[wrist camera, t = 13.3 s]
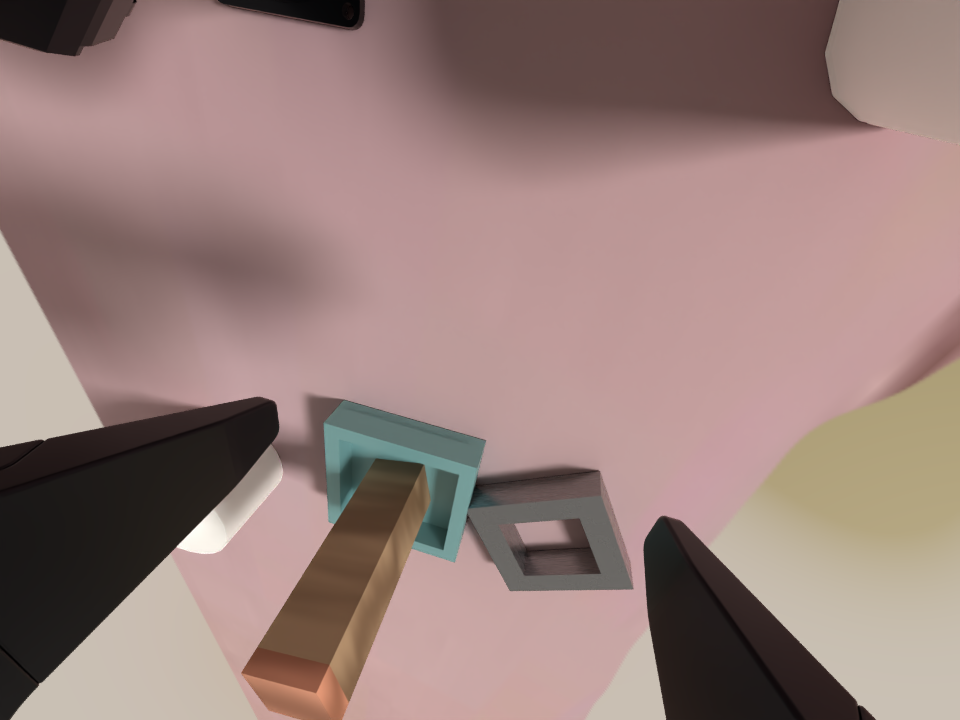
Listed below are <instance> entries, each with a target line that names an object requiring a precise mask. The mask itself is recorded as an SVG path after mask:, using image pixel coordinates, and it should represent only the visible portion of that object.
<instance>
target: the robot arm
mask: <svg viewBox="0 0 960 720" xmlns="http://www.w3.org/2000/svg"><path fill="white" fill-rule="evenodd" d="M218 1H219V2H221V3H223V4H225V5H228V6H231V7H235V8H241V9H246V10H251V11H257V12H262V13H267V14H272V15H278V16H283V17H288V18H294V19H299V20H304V21H310V22H315V23H320V24H325V25H331V26H336V27H341V28H347V29H352V30H355V29H358V28H360V27H361V26H362V24H363V22H364V15H365V0H218ZM136 2H137V1H136V0H0V40H3V41H7V42H10V43H13V44H17V45H20V46H23V47H26V48H30V49H33V50H37V51H41V52H46V53H54V54H62V55H69V56H78V55H80V53H81V51H82V49H83V47H84V46H93V45H96V44H99V43H102V42H105V41H108V40H111V39H114V38H115V36H116V34H117V32H118V30H119V28H120V26H121V24H122V22H123V20H124V18H125V17H127V16H129V15H130V13H131V12H132V10H133V8H134V6H135V4H136ZM349 6H352V7H353V9H354V15H353V17H352V18H351V19H349V18H348V16H347V9H348V8H349ZM278 432H279V420H278V412H277V405H276V403H275V402H274V401H273V400H269V399H266V398H263V397H253V398H248V399H243V400H238V401H233V402H228V403H223V404H218V405H213V406H208V407H203V408H198V409H193V410H188V411H183V412H178V413H173V414H169V415H164V416H159V417H154V418H149V419H144V420H139V421H134V422H129V423H124V424H119V425H114V426H109V427H104V428H99V429H94V430H89V431H84V432H79V433H74V434H69V435H64V436H59V437H54V438H49V439H47V440H45V441H44V440H35V441H31V442H25V443H21V444H15V445H10V446H6V447H0V720H10V719H11V718H12V716H13V715H14V714H15V712H16V711H17V709H18V708H19V707H20V706H21V705H22V703H23V702H24V701H25V700H26V699H27V697H29V696H30V695H31V693H32V692H33V691H34V690H35V689H36V688H37V687H38V686H39V683H42V682H43V681H44V680H45V679H46V678H47V677H48V676H49V675H50V674H51V673H52V672H53V671H54V670H55V669H56V668H57V667H58V666H59V665H60V664H61V663H62V662H63V661H64V660H65V659H66V658H67V657H68V656H69V655H70V654H71V653H72V652H73V651H74V650H75V649H76V648H77V647H78V646H79V645H80V644H81V643H82V642H83V641H84V640H85V639H86V638H87V637H88V636H89V635H90V634H91V633H92V632H93V630H95V628H97V627H98V626H99V625H100V624H101V622H103V620H105V618H106V617H108V615H109V614H110V613H111V612H112V611H113V610H114V609H115V608H116V607H117V606H118V605H119V604H120V603H121V602H122V601H123V600H124V599H125V598H126V597H127V596H128V595H129V594H130V593H131V592H132V591H133V590H134V589H135V588H136V587H137V586H138V585H139V584H140V583H141V582H142V581H143V580H144V579H145V578H146V577H147V576H148V575H149V574H150V573H151V572H152V571H153V570H154V569H155V568H156V567H157V566H158V565H159V564H160V563H161V562H162V561H163V560H164V559H165V558H166V557H167V556H168V555H169V554H170V553H171V552H172V551H173V550H174V549H175V548H176V547H177V546H178V545H179V544H180V543H181V542H182V541H183V540H184V539H185V538H186V537H187V536H188V535H189V534H190V533H191V532H192V531H193V530H194V529H195V528H196V527H197V526H198V525H199V524H200V523H201V522H202V521H203V520H204V519H205V518H206V517H207V516H208V514H209V513H210V512H211V511H212V510H213V509H214V508H215V507H216V506H217V505H218V504H219V503H220V502H221V501H222V500H223V499H224V498H225V497H226V496H227V495H228V494H229V493H230V492H231V491H232V490H233V489H234V488H235V487H236V486H237V485H238V484H239V482H240V481H241V480H242V479H243V478H244V477H245V475H246V474H247V473H248V472H249V470H250V469H251V468H252V467H253V465H254V464H255V463H256V462H257V461H258V459H259V458H260V457H261V456H262V454H263V453H264V452H265V451H266V449H267V448H268V447H269V446H270V444H271V443H272V442H273V441H274V439H275V438H276V436H277V434H278ZM644 566H645V581H646V597H647V610H648V619H649V625H650V631H651V637H652V642H653V648H654V653H655V659H656V665H657V670H658V676H659V681H660V687H661V693H662V698H663V704H664V709H665V715H666V720H876V719H875V718H874V717H873V716H872V715H871V714H870V713H869V712H868V711H867V710H866V709H865V708H864V707H863V706H860V705H859V706H858V704H857V701H856V700H855V699H854V698H853V697H852V696H851V695H850V694H849V692H848V691H847V690H846V689H844V687H843V686H841V684H840V683H839V682H838V681H837V680H836V679H835V678H834V677H833V676H832V675H831V674H830V673H829V672H828V671H827V670H826V669H825V668H824V667H823V666H822V665H821V664H820V663H819V662H818V661H817V660H816V659H815V658H814V657H813V656H812V654H810V652H809V651H808V650H807V649H806V648H805V647H804V646H803V645H802V644H801V643H800V642H799V641H798V640H797V639H796V638H795V637H794V636H793V635H792V634H791V633H790V632H789V631H788V630H787V629H786V628H785V627H784V626H783V625H782V624H781V623H780V622H779V621H778V620H777V619H776V618H775V616H774V615H773V614H772V613H771V612H770V611H769V610H768V609H767V608H766V607H765V606H764V605H763V604H762V603H761V602H760V601H759V600H758V599H757V598H756V597H755V596H754V595H753V594H752V593H751V592H750V591H749V590H748V589H747V588H746V587H745V586H744V585H743V584H742V583H741V582H740V580H739V579H738V578H736V577H735V575H734V574H733V573H732V572H731V571H730V570H729V569H728V568H727V567H726V566H725V565H724V564H723V563H722V562H721V561H720V560H719V559H718V558H717V557H716V556H715V555H714V554H713V553H712V552H711V551H710V550H709V549H708V548H707V547H706V546H705V545H704V544H703V542H702V541H701V540H700V539H699V538H698V537H697V536H696V535H695V534H694V533H693V532H692V531H691V530H690V529H689V528H688V527H687V526H686V525H685V524H684V523H683V522H682V521H680V520H677V519H674V518H671V517H667V516H661V517H660V518H659V519H658V520H657V522H656V523H655V525H654V526H653V528H652V529H651V531H650V532H649V534H648V535H647V537H646V539H645V542H644Z"/></svg>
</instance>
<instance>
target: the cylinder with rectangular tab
mask: <svg viewBox="0 0 960 720" xmlns="http://www.w3.org/2000/svg"><path fill="white" fill-rule="evenodd" d="M282 474H283V470H282V463H281V460H280V458H279V456H278V454H277V451H276V450H275V449H274V447H273V446H272V445H271V444H270V446H269V447H268V448H267V449H266V451H265V452H264V453H263V454H262V456H261V457H260V458H259V459H258V461H257V462H256V463H255V464H254V465H253V467H252V468H251V469H250V470H249V472H248V473H247V474H246V475H245V477H244V478H243V479H242V480H241V481H240V482H239V484H238V485H237V486H236V487H235V488H234V489H233V490H232V491H231V492H230V493H229V494H228V495H227V496H226V497H225V498H224V499H223V500H222V501H221V502H220V503H219V504H218V505H217V506H216V507H215V508H214V509H213V510H212V511H211V512H210V513H209V514H208V516H207V517H206V518H205V519H204V520H203V521H202V522H201V523H200V524H199V525H198V526H197V527H196V528H195V529H194V530H193V531H192V532H191V533H190V534H189V535H188V536H187V537H186V538H185V539H184V540H183V541H182V542H181V543H180V544H179V545H178V546H177V547H178V548H181V549H183V550H186V551H189V552H195V553H200V554H212V553H216V552H218V551H221V550H222V549H223V548H224V547H225V546H226V544H227V543H228V542H229V541H230V540H231V539H232V537H233V536H234V535H235V534H236V533H237V532H238V531H239V529H240V528H241V527H242V526H243V525H244V524H245V522H246V521H247V520H248V519H249V518H250V517H251V515H252V514H253V513H254V512H255V511H256V510H257V508H258V507H259V506H260V505H261V504H262V503H263V501H264V500H265V499H266V498H267V497H268V496H269V494H270V493H271V492H272V491H273V490H274V489H275V488H276V486H277V485H278V484H279V483H280V481H281V479H282Z"/></svg>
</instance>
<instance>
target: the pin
mask: <svg viewBox="0 0 960 720" xmlns="http://www.w3.org/2000/svg"><path fill="white" fill-rule="evenodd" d="M430 501H431V499H430V493H429V487H428V482H427V476H426V471H425V465H424V464H421V463H413V462H404V461H395V460H387V459H378V458H376V459H375V461H374V462H373V464H372V465H371V467H370V469H369V470H368V472H367V473H366V475H365V477H364V478H363V480H362V481H361V483H360V485H359V486H358V488H357V489H356V491H355V492H354V494H353V496H352V497H351V499H350V500H349V502H348V504H347V505H346V507H345V508H344V510H343V512H342V513H341V515H340V516H339V518H338V520H337V521H336V523H335V524H334V526H333V528H332V529H331V531H330V532H329V534H328V536H327V537H326V539H325V540H324V542H323V543H322V545H321V547H320V548H319V550H318V551H317V553H316V555H315V556H314V558H313V559H312V561H311V563H310V564H309V566H308V567H307V569H306V571H305V572H304V574H303V575H302V577H301V579H300V580H299V582H298V583H297V585H296V587H295V588H294V590H293V591H292V593H291V594H290V596H289V598H288V599H287V601H286V602H285V604H284V606H283V607H282V609H281V610H280V612H279V614H278V615H277V617H276V618H275V620H274V622H273V623H272V625H271V626H270V628H269V630H268V631H267V633H266V634H265V636H264V637H263V639H262V641H261V642H260V644H259V645H258V647H257V649H256V650H255V652H254V653H253V655H252V657H251V658H250V660H249V661H248V663H247V665H246V666H245V668H244V669H243V671H242V673H241V674H242V675H243V676H244V678H245V679H246V681H247V682H248V683H249V685H250V686H251V687H252V689H253V690H254V691H255V693H256V694H257V695H258V697H259V698H260V699H261V701H262V702H263V703H264V705H265V706H266V707H267V709H268V710H269V711H273V712H276V713H280V714H283V715H286V716H290V717H293V718H297V719H300V720H342V718H343V716H344V713H345V711H346V708H347V706H348V703H349V701H350V699H351V696H352V694H353V691H354V689H355V686H356V684H357V681H358V679H359V676H360V674H361V671H362V669H363V667H364V664H365V662H366V659H367V657H368V654H369V652H370V649H371V647H372V644H373V642H374V639H375V637H376V634H377V632H378V630H379V627H380V625H381V622H382V620H383V617H384V615H385V612H386V610H387V607H388V605H389V602H390V600H391V598H392V595H393V593H394V590H395V588H396V585H397V583H398V580H399V578H400V575H401V573H402V570H403V568H404V565H405V563H406V561H407V558H408V556H409V553H410V551H411V548H412V546H413V543H414V541H415V538H416V536H417V533H418V531H419V529H420V526H421V524H422V521H423V519H424V516H425V514H426V511H427V509H428V506H429V504H430Z"/></svg>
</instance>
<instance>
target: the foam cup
mask: <svg viewBox="0 0 960 720" xmlns="http://www.w3.org/2000/svg"><path fill="white" fill-rule="evenodd" d="M825 58H826V63H827V69H828V74H829V80H830V85H831V91H832V96H833V97H834V98H835V99H836V100H838V101H839V102H840V103H841V104H842V105H843V106H844V107H845V108H846V109H847V110H848V111H849V112H850V113H851V114H852V115H853V116H854V117H855V118H856V119H858V120H859V121H861V122H867V123H868V124H871V125H875V126H879V127H884V128H888V129H892V130H896V131H901V132H905V133H909V134H913V135H918V136H922V137H926V138H930V139H935V140H939V141H943V142H947V143H952V144H956V145H960V0H840V1H839V4H838V8H837V11H836V15H835V19H834V22H833V26H832V29H831V33H830V36H829V40H828V44H827V47H826V51H825Z"/></svg>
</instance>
